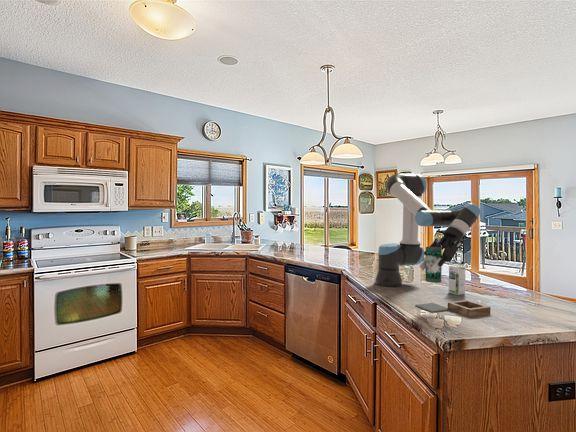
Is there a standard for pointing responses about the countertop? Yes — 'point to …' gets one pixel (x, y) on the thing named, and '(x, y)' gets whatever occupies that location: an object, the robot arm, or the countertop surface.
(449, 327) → the countertop surface
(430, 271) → the can
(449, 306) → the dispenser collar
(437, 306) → the mat
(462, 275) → the syrup box
